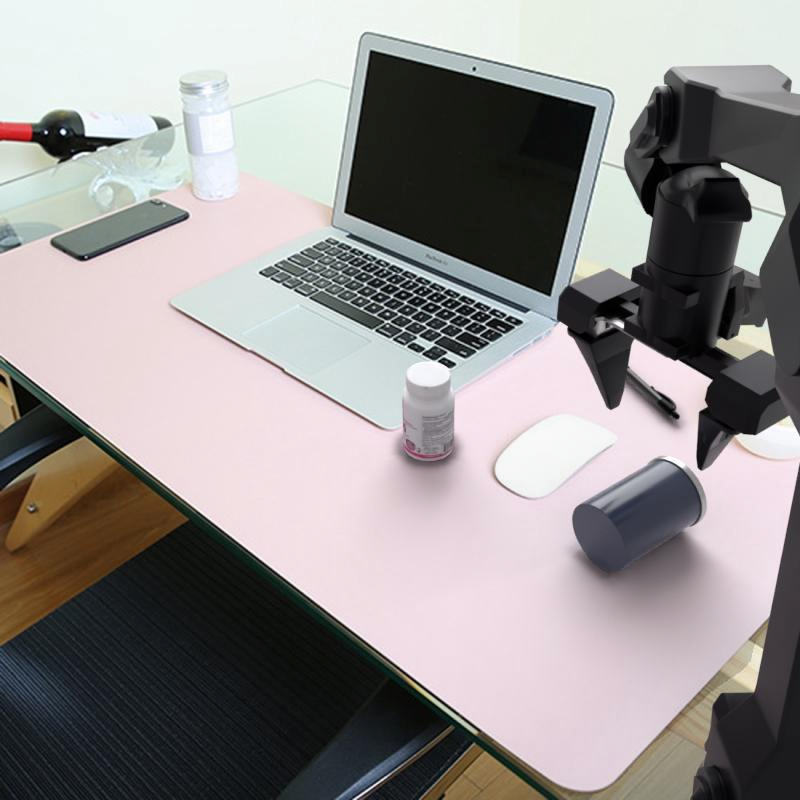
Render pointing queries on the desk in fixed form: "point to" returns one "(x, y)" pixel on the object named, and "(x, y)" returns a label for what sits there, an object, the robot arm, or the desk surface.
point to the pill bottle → (428, 412)
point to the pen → (654, 395)
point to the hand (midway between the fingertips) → (656, 436)
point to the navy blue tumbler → (639, 513)
